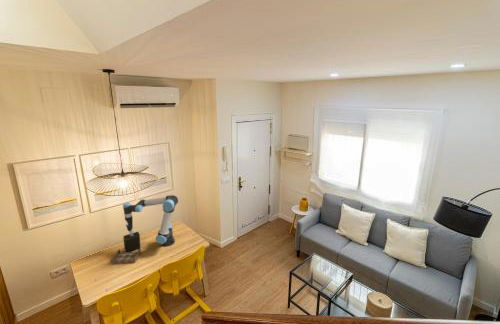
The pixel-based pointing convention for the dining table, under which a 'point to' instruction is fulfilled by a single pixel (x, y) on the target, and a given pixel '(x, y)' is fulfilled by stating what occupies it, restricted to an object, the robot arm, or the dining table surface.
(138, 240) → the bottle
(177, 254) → the dining table surface
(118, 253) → the walnut rest
